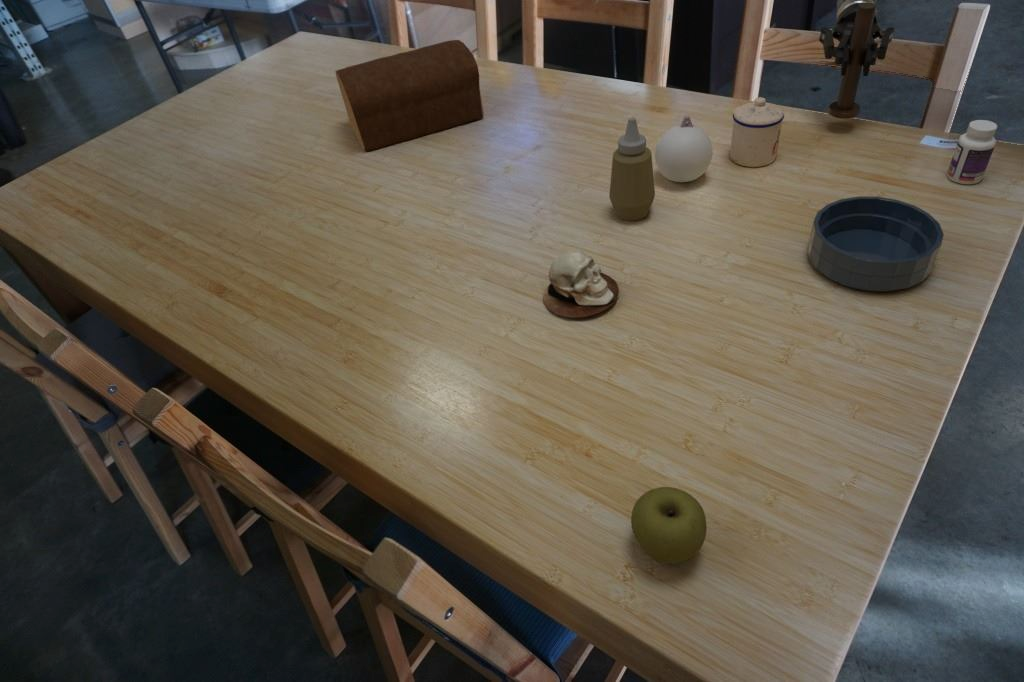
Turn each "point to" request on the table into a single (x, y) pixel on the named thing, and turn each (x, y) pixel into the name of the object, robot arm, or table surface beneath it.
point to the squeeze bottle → (632, 175)
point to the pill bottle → (973, 153)
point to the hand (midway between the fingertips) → (855, 68)
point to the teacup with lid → (756, 133)
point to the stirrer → (854, 64)
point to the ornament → (683, 152)
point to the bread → (411, 93)
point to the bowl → (874, 243)
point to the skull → (578, 286)
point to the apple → (668, 524)
